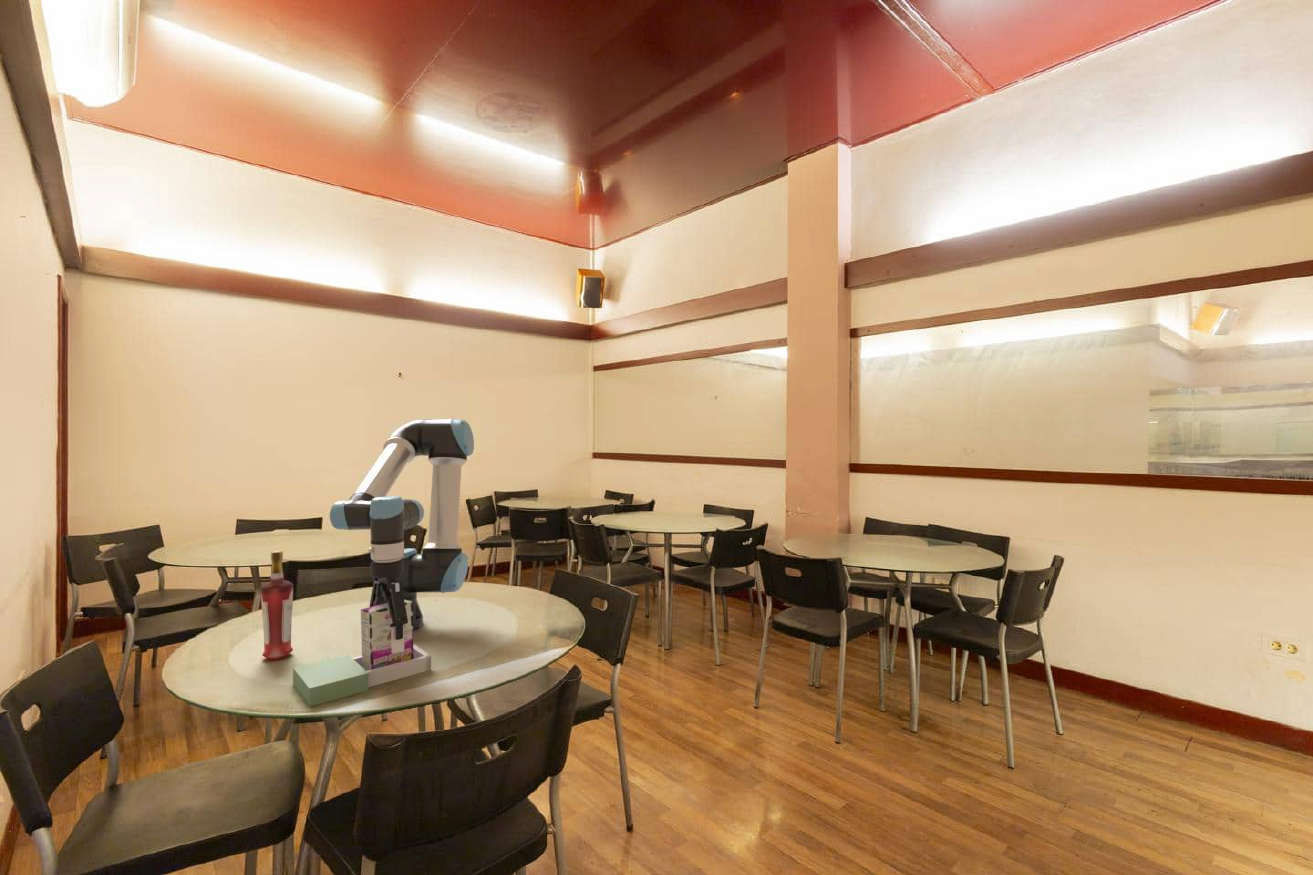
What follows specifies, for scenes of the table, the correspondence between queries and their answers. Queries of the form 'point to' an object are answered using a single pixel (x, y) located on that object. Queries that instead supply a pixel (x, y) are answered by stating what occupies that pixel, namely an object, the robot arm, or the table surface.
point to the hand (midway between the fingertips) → (388, 644)
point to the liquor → (277, 611)
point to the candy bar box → (383, 637)
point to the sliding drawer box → (351, 676)
